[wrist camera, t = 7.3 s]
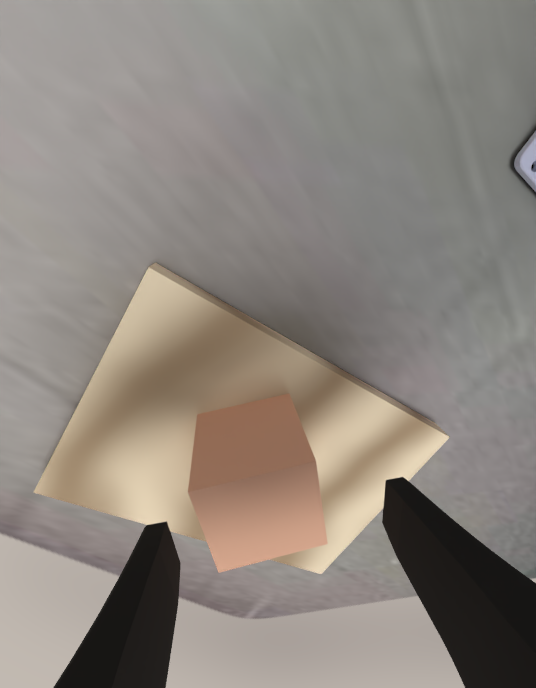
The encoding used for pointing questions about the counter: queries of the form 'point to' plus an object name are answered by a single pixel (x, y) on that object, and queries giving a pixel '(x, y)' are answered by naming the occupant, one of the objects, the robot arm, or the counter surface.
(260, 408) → the terracotta cube
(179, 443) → the birch board
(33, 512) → the counter surface
